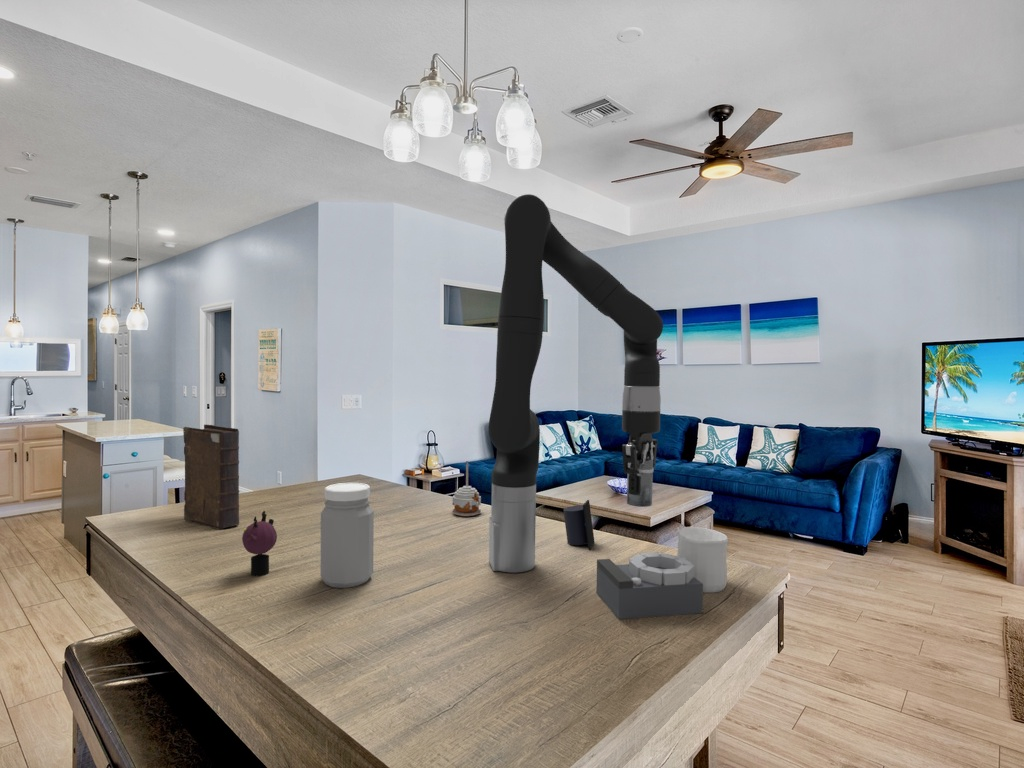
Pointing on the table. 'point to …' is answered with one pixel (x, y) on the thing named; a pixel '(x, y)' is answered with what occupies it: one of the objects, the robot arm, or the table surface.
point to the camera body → (649, 586)
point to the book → (211, 476)
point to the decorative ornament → (466, 500)
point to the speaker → (579, 525)
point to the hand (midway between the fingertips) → (639, 491)
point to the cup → (705, 555)
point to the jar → (347, 535)
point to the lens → (643, 486)
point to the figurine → (259, 544)
